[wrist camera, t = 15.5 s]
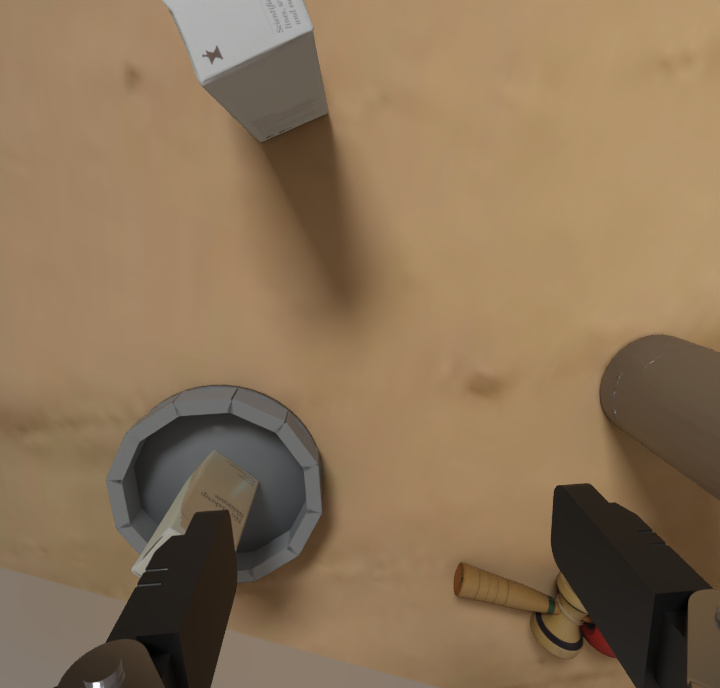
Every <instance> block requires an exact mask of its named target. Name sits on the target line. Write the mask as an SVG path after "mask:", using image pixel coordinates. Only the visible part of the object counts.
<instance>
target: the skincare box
mask: <svg viewBox="0 0 720 688" xmlns="http://www.w3.org/2000/svg"><path fill="white" fill-rule="evenodd" d="M162 1H163V3H164V4H165V5H166V6H167V7H168V9H169V11H170V13H171V15H172V17H173V19H174V22H175V24H176V26H177V29H178V31H179V33H180V35H181V38H182V40H183V42H184V44H185V47H186V49H187V52H188V55H189V57H190V60H191V63H192V66H193V68H194V71H195V74H196V77H197V79H198V81H199V84H200V85H201V86H202V87H203V88H204V89H205V90H206V91H207V92H208V93H209V94H210V95H211V96H212V97H213V98H215V99H216V100H217V101H218V102H219V103H220V104H221V105H222V106H223V107H224V108H225V109H226V110H227V111H228V112H229V113H230V114H231V115H232V116H233V117H234V118H235V119H236V120H237V121H238V122H239V123H240V124H241V125H242V126H243V127H244V128H245V129H246V130H247V131H248V132H249V133H250V134H251V135H252V136H253V137H254V138H256V139H257V140H258V141H259V142H263V141H265V140H268V139H270V138H272V137H275V136H277V135H279V134H282V133H284V132H286V131H289V130H291V129H293V128H295V127H298V126H300V125H302V124H304V123H307V122H309V121H311V120H313V119H316V118H318V117H320V116H323V115H325V114H327V113H328V106H327V101H326V96H325V91H324V85H323V80H322V76H321V71H320V66H319V61H318V56H317V51H316V46H315V40H314V34H313V25H312V22H311V19H310V17H309V14H308V11H307V8H306V5H305V2H304V0H162Z"/></svg>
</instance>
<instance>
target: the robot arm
mask: <svg viewBox="0 0 720 688" xmlns="http://www.w3.org/2000/svg"><path fill="white" fill-rule="evenodd" d="M600 400H601V403H602V407H603V410H604V412H605V413H606V415H607V417H608V418H609V419H610V420H611V421H612V422H613V423H614V424H615V425H616V426H618V427H619V428H620V429H622V430H623V431H625V432H626V433H627V434H629V435H630V436H631V437H633V438H634V439H636V440H637V441H638V442H640V443H641V444H642V445H644V446H645V447H646V448H648V449H649V450H650V451H652V452H653V453H655V454H656V455H657V456H659V457H660V458H661V459H663V460H664V461H666V462H667V463H668V464H670V465H671V466H673V467H674V468H675V469H677V470H678V471H679V472H681V473H682V474H684V475H685V476H686V477H688V478H689V479H691V480H692V481H693V482H695V483H696V484H697V485H699V486H700V487H702V488H703V489H704V490H706V491H707V492H709V493H710V494H711V495H713V496H714V497H715V498H717V499H718V500H720V352H717V351H714V350H712V349H709V348H706V347H703V346H700V345H697V344H694V343H691V342H688V341H685V340H682V339H679V338H676V337H673V336H668V335H651V336H647V337H643V338H640V339H638V340H636V341H634V342H632V343H630V344H628V345H627V346H626V347H624V348H623V349H621V350H620V351H619V352H618V353H617V354H616V355H615V357H614V358H613V359H612V360H611V362H610V363H609V365H608V366H607V368H606V370H605V372H604V375H603V377H602V381H601V387H600ZM551 547H552V552H553V556H554V559H555V562H556V564H557V566H558V568H559V570H560V571H561V573H562V574H563V576H564V577H565V579H566V580H567V582H568V583H569V585H570V586H571V588H572V590H573V591H574V593H575V594H576V596H577V597H578V599H579V600H580V602H581V603H582V605H583V606H584V608H585V610H586V611H587V613H588V614H589V616H590V617H591V619H592V620H593V622H594V623H595V625H596V627H597V628H598V630H599V631H600V633H601V634H602V636H603V637H604V639H605V640H606V642H607V643H608V645H609V647H610V648H611V650H612V651H613V653H614V654H615V656H616V657H617V659H618V660H619V662H620V664H621V665H622V667H623V668H624V670H625V671H626V673H627V674H628V676H629V677H630V679H631V680H632V682H633V684H634V685H635V687H636V688H720V590H715V589H713V588H712V587H711V586H710V585H709V584H708V583H707V582H706V581H705V580H704V579H703V578H702V577H701V576H699V575H698V574H697V573H696V572H695V571H694V570H693V569H692V568H691V567H690V566H689V565H688V564H687V563H686V562H685V561H684V560H683V559H682V558H681V557H680V556H679V555H678V554H677V553H676V552H675V551H674V550H673V549H672V548H671V547H670V546H666V544H665V542H664V541H663V540H662V539H661V538H660V537H659V536H658V535H657V534H656V533H653V532H652V529H651V528H650V527H649V526H648V525H647V524H646V523H645V522H644V521H643V520H642V519H641V518H640V517H639V516H637V515H636V514H635V513H633V512H631V511H629V510H627V509H626V508H624V507H622V506H620V505H619V504H617V503H615V502H614V503H609V502H608V501H607V500H606V499H605V498H604V497H603V496H602V495H601V494H600V493H599V492H598V491H597V490H596V489H595V488H594V487H593V486H592V485H591V484H588V483H584V484H571V485H559V486H556V488H555V490H554V496H553V512H552V529H551ZM236 587H237V560H236V552H235V545H234V538H233V530H232V523H231V516H230V513H229V511H228V510H214V511H200V512H196V513H195V514H194V515H193V517H192V520H191V522H190V524H189V526H188V528H187V530H186V532H185V534H184V535H174V536H171V537H170V538H169V539H168V540H167V541H166V542H165V543H163V544H162V545H161V546H160V547H159V548H158V549H157V550H156V551H155V552H154V554H153V556H152V558H151V560H150V561H149V563H148V565H147V567H146V569H145V572H143V574H142V576H141V578H140V580H139V582H138V585H137V587H136V588H135V589H134V591H133V593H132V595H131V596H130V598H129V600H128V602H127V604H126V606H125V608H124V610H123V611H122V613H121V615H120V617H119V619H118V620H117V622H116V624H115V626H114V628H113V630H112V632H111V633H110V635H109V637H108V639H107V641H106V643H104V644H102V645H100V646H98V647H95V648H94V649H92V650H90V651H89V652H87V653H85V654H84V655H83V656H81V657H80V658H79V659H78V660H77V661H76V662H74V663H73V664H72V665H71V666H70V668H69V669H68V670H67V671H66V673H65V674H64V675H63V677H62V678H61V680H60V682H59V684H58V686H56V687H54V688H210V687H211V683H212V680H213V675H214V672H215V668H216V665H217V661H218V657H219V653H220V649H221V646H222V642H223V638H224V634H225V631H226V627H227V623H228V619H229V615H230V612H231V608H232V604H233V600H234V596H235V592H236Z"/></svg>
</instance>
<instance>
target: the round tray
mask: <svg viewBox="0 0 720 688" xmlns="http://www.w3.org/2000/svg"><path fill="white" fill-rule="evenodd" d="M213 450H216V451H218V452H219V453H220V454H222V455H223V456H225V457H226V458H228V459H229V460H230V461H232V462H233V463H235V464H236V465H237V466H239V467H240V468H242V469H243V470H244V471H246V472H247V473H248V474H250V475H251V476H253V477H254V478H255V479H257V480H258V481H259V485H258V487H257V490H256V493H255V496H254V499H253V502H252V505H251V508H250V511H249V514H248V517H247V520H246V523H245V526H244V529H243V532H242V535H241V538H240V541H239V544H238V547H237V550H236V560H237V583H244V582H254V581H255V580H256V581H257V580H259V579H260V578H262V577H264V576H265V575H267V574H269V573H271V572H272V571H274V570H276V569H277V568H279V567H281V566H282V565H284V564H286V563H287V562H289V561H291V560H292V559H294V558H296V557H297V556H298V555H299V554H300V552H301V551H302V549H303V547H304V545H305V543H306V542H307V540H308V538H309V536H310V534H311V532H312V531H313V529H314V527H315V525H316V523H317V522H318V520H319V518H320V516H321V514H322V500H323V495H322V465H321V458H320V455H319V452H318V448H317V446H316V444H315V441H314V439H313V437H312V435H311V434H310V432H309V431H308V429H307V428H306V426H305V425H304V424H303V423H302V421H301V420H300V419H299V418H298V417H297V416H296V415H295V414H294V413H293V412H292V411H291V410H290V409H288V408H287V407H286V406H284V405H283V404H281V403H280V402H278V401H277V400H275V399H273V398H271V397H269V396H267V395H265V394H263V393H260V392H258V391H255V390H252V389H248V388H244V387H239V386H231V385H208V386H201V387H196V388H192V389H188V390H185V391H182V392H180V393H177V394H175V395H173V396H171V397H169V398H168V399H166V400H164V401H162V402H161V403H160V404H158V405H157V406H156V407H155V408H153V409H152V410H151V411H150V412H149V413H148V414H147V415H145V416H144V417H142V418H141V419H139V420H138V421H137V422H136V423H135V424H134V425H133V426H132V427H131V428H130V429H129V430H128V431H127V433H126V434H125V436H124V438H123V441H122V443H121V445H120V448H119V450H118V452H117V455H116V457H115V459H114V462H113V464H112V466H111V469H110V471H109V473H108V476H107V478H106V479H107V480H106V484H107V488H108V493H109V498H110V503H111V507H112V512H113V517H114V522H115V527H116V528H118V529H117V531H118V532H119V533H120V534H121V535H122V536H123V537H124V538H125V539H126V540H127V541H128V542H129V543H130V545H131V546H132V547H133V548H134V549H135V550H136V551H137V552H138V553H139V554H140V555H141V553H142V552H143V550H144V549H145V547H146V545H147V544H148V542H149V541H150V539H151V537H152V536H153V534H154V532H155V531H156V529H157V528H158V526H159V524H160V523H161V521H162V520H163V518H164V517H165V515H166V513H167V512H168V510H169V509H170V507H171V505H172V504H173V502H174V500H175V499H176V497H177V495H178V494H179V492H180V491H181V489H182V487H183V486H184V484H185V482H186V481H187V480H188V478H189V477H190V476H191V475H192V474H193V472H194V471H195V470H196V469H197V468H198V467H199V465H200V464H201V463H202V462H203V461H204V460H205V459H206V458H207V457H208V455H209V454H210V453H211V452H212V451H213Z"/></svg>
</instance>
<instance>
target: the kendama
mask: <svg viewBox="0 0 720 688" xmlns="http://www.w3.org/2000/svg"><path fill="white" fill-rule="evenodd" d="M556 581H557V586H558V589H559V594H557V597H556V599H554V598H552V597H550V596H548V595H546V594H543V593H541V592H539V591H537V590H534V589H532V588H530V587H527V586H525V585H523V584H520V583H517V582H515V581H512V580H509V579H505V578H503V577H500V576H497V575H495V574H492V573H489V572H486V571H484V570H481V569H477V568H476V567H473V566H471V565H468V564H466V563H463V562H461V563H460V564H459V565H458V567H457V569H456V572H455V577H454V592H455V595H456V596H458V597H463V598H469V599H475V600H479V601H484V602H488V603H493V604H497V605H503V606H506V607H511V608H515V609H521V610H527V611H534V612H533V614H532V616H531V619H530V626H531V630H532V632H533V634H534V636H535V637H536V639H537V640H538V642H539V643H540V644H541V645H542V646H543V647H544V648H545V649H546V650H547V651H549V652H550V653H552V654H553V655H555V656H557V657H560V658H563V659H571V658H574V657H575V656H576V655H577V654H578V653H579V651H580V650H581V649H582V647H583V637H584V638H585V639H586V640H587V641H588V642H589V643H590V645H592V646H593V647H594V648H595V649H596V650H597V651H599V652H601V653H602V654H604V655H607V656H609V657H613V658H617V657H616V656H615V654H614V653H613V651H612V650H611V648H610V647H609V645H608V643H607V642H606V640H605V639H604V637H603V636H602V634H601V633H600V631H599V630H598V628H597V627H596V625H595V623H594V622H593V620H592V619H591V617H590V616H589V614H588V613H587V611H586V610H585V608H584V606H583V605H582V603H581V602H580V600H579V599H578V597H577V596H576V594H575V593H574V591H573V590H572V588H571V586H570V585H569V583H568V582H567V580H566V579H565V577H564V576H563V574H562V573H561V572H560V573H559V574H558V576H557V580H556Z"/></svg>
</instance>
